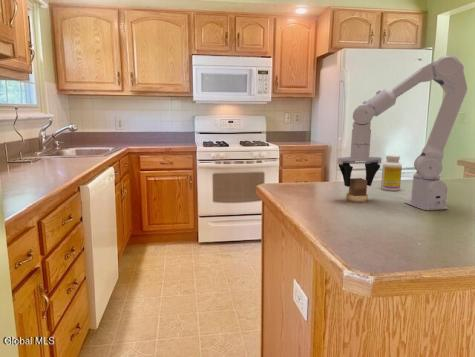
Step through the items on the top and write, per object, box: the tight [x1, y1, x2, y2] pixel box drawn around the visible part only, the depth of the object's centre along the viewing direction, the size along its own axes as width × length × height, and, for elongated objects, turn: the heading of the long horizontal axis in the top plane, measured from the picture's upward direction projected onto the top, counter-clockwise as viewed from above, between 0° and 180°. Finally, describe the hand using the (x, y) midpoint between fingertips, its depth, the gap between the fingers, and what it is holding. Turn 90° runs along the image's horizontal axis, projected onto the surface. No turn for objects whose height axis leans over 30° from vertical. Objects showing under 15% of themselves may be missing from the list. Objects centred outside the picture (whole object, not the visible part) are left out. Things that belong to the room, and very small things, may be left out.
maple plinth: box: [345, 192, 369, 204], centre depth 116 cm, size 7×7×2 cm
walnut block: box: [348, 177, 368, 196], centre depth 115 cm, size 4×4×5 cm
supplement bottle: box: [380, 154, 403, 192], centre depth 133 cm, size 7×7×13 cm
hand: (357, 185), depth 115 cm, fingers open, 7 cm apart
